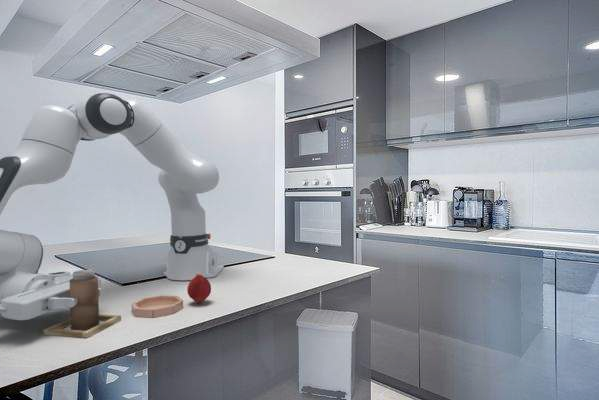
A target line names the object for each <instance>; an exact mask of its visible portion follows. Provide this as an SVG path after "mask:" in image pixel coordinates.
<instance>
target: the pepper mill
mask: <svg viewBox="0 0 599 400" xmlns="http://www.w3.org/2000/svg"><path fill="white" fill-rule="evenodd" d="M95 272H96V271H95V269H82V270H77V271H73V272H72V274H73V279H71V280H70V297H78V305H76V306H74V307H72V308H69V311H70V312H69V315H70V318H69V319H71V325H70V330H81V331H84V330H89V329H91V328H93V327H95V326H97V325H99V324H100V320H99V314H100V310H99V309H100V305H99V297H100V296H99V297H98V277H99V276H96V273H95Z"/></svg>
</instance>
